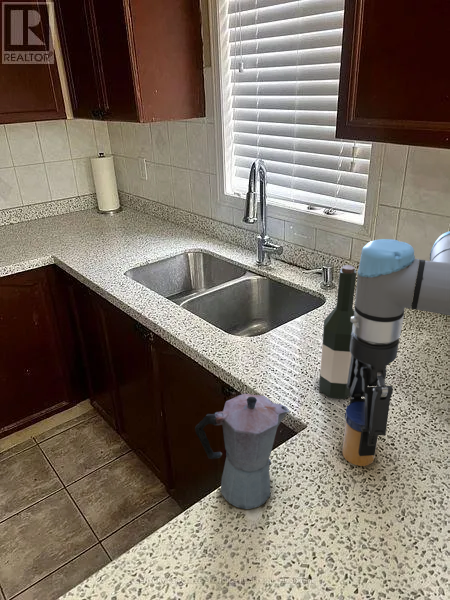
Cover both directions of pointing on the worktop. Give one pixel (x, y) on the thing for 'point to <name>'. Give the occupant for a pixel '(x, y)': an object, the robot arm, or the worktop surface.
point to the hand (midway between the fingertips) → (360, 439)
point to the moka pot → (245, 447)
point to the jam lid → (355, 415)
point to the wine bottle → (338, 339)
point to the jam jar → (354, 447)
